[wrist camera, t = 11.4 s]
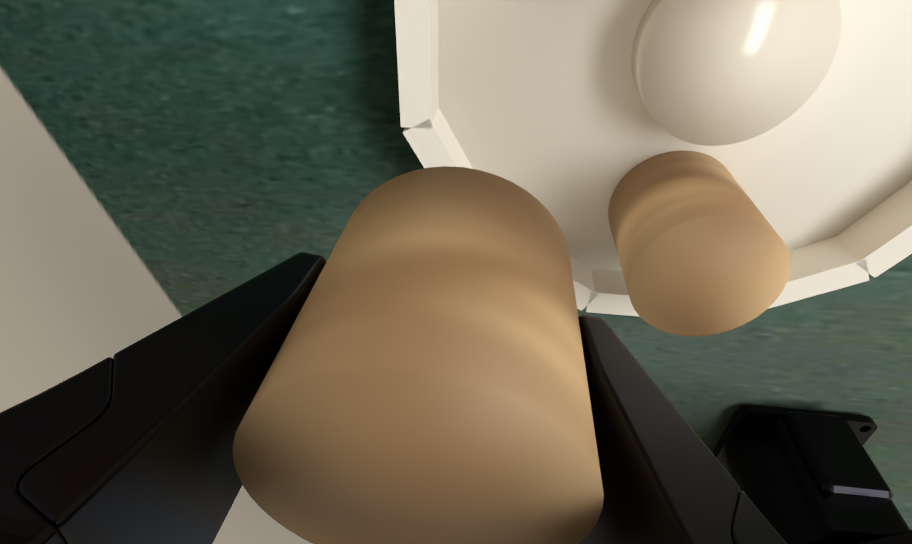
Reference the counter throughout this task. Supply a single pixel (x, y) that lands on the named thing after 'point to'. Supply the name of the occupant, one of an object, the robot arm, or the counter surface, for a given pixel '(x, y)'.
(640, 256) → the tan rounded piece
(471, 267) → the bead
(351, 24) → the counter surface
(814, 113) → the tray
